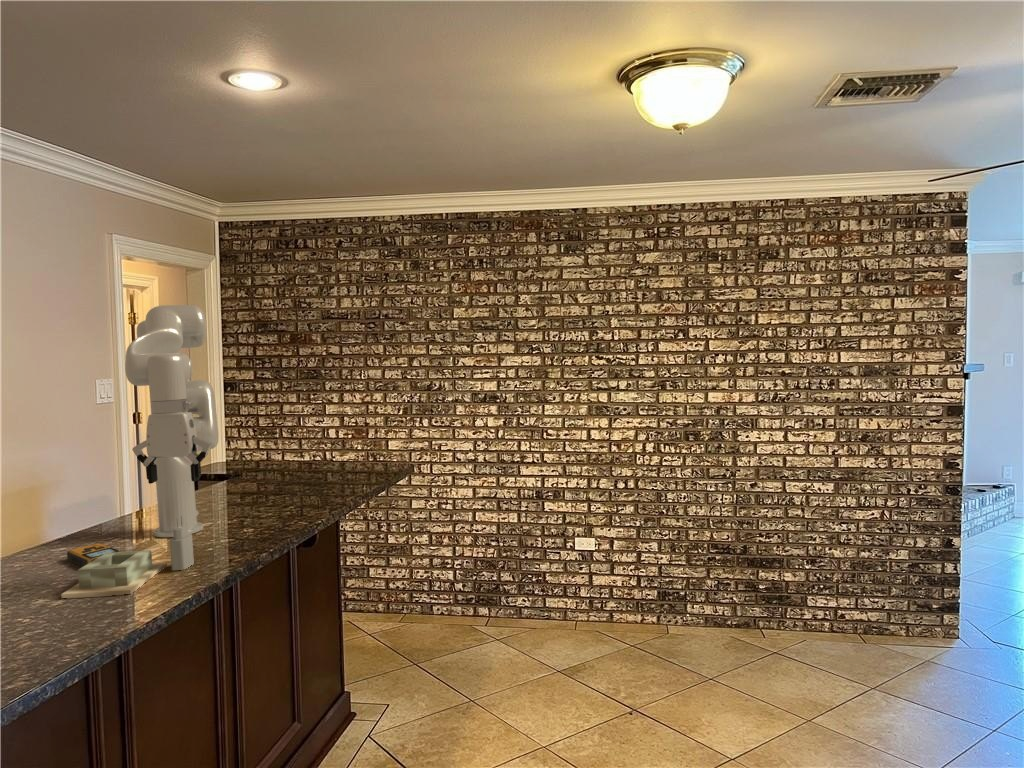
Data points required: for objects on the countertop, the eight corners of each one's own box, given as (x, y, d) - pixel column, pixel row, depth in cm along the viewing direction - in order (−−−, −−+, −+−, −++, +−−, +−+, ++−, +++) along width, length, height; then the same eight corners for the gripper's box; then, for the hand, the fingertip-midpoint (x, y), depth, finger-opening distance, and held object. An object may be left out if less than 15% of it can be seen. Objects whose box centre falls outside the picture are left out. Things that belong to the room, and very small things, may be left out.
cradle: (105, 570, 165) (104, 549, 165) (167, 566, 166) (165, 545, 166) (61, 598, 147) (59, 575, 147) (131, 594, 148) (129, 571, 148)
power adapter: (195, 563, 168) (191, 513, 167) (183, 571, 162) (179, 519, 162) (182, 563, 168) (178, 514, 167) (170, 571, 163) (166, 520, 162)
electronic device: (102, 554, 181) (101, 541, 181) (128, 564, 171) (127, 550, 171) (65, 562, 174) (64, 549, 174) (91, 573, 165) (90, 559, 164)
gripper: (213, 404, 166) (218, 476, 168) (138, 407, 166) (143, 480, 167) (201, 407, 159) (206, 482, 160) (122, 411, 158) (128, 486, 159)
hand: (174, 481), depth 163 cm, fingers open, 9 cm apart
